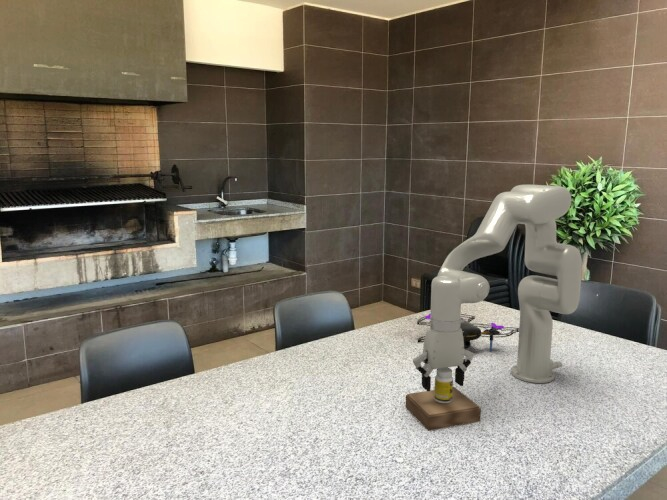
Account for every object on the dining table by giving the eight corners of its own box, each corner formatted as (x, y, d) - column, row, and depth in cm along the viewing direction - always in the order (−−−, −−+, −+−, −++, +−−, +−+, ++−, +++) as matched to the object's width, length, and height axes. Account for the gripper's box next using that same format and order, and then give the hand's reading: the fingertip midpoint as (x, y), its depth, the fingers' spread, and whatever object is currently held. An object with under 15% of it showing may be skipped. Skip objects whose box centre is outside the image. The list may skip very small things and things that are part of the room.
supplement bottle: (452, 404, 135) (453, 374, 134) (434, 403, 136) (435, 372, 135) (452, 396, 140) (453, 366, 139) (434, 395, 141) (435, 365, 139)
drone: (422, 337, 169) (389, 313, 196) (421, 366, 171) (389, 338, 197) (528, 326, 180) (483, 305, 207) (526, 353, 182) (482, 328, 208)
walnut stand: (453, 399, 147) (454, 386, 146) (480, 421, 135) (481, 406, 134) (405, 407, 143) (405, 393, 142) (428, 430, 130) (428, 415, 130)
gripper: (466, 316, 141) (463, 376, 143) (408, 323, 135) (406, 385, 138) (482, 325, 133) (479, 388, 136) (421, 332, 128) (419, 397, 131)
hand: (442, 386), depth 137 cm, fingers open, 9 cm apart
